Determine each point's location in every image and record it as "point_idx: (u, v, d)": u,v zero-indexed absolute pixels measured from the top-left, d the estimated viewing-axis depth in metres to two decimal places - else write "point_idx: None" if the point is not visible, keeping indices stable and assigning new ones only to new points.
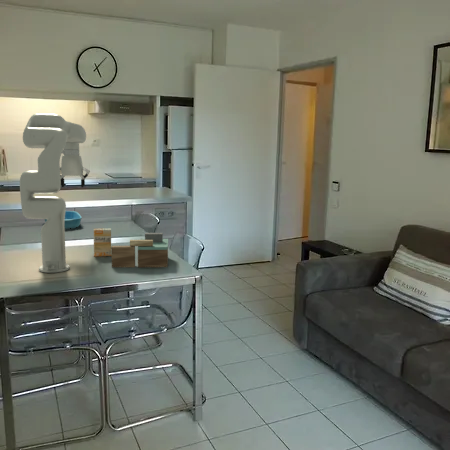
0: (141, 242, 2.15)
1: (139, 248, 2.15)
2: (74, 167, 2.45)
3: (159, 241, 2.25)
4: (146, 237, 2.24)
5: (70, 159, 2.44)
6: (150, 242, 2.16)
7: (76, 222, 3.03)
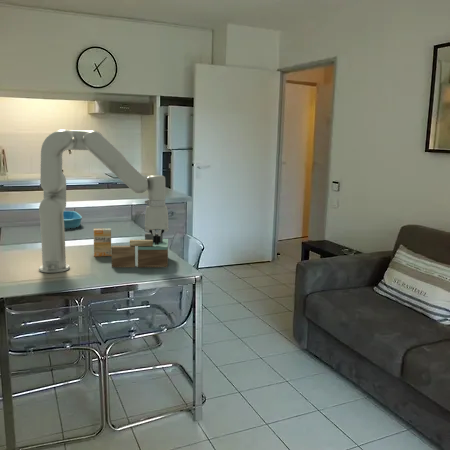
0: (141, 242, 2.15)
1: (139, 248, 2.15)
2: (160, 220, 2.13)
3: None
4: (146, 237, 2.24)
5: (156, 211, 2.12)
6: (150, 242, 2.16)
7: (77, 222, 3.03)
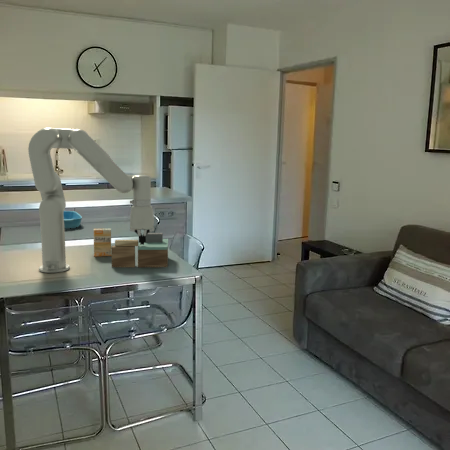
0: (127, 242, 2.15)
1: (139, 248, 2.15)
2: (145, 220, 2.12)
3: (159, 241, 2.25)
4: (146, 237, 2.24)
5: (141, 211, 2.11)
6: (135, 242, 2.15)
7: (77, 222, 3.03)
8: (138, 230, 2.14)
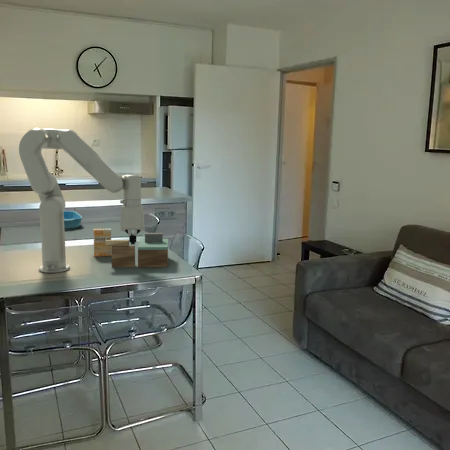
0: (117, 242, 2.14)
1: (139, 248, 2.15)
2: (135, 220, 2.12)
3: (159, 241, 2.25)
4: (146, 237, 2.24)
5: (131, 210, 2.11)
6: (126, 242, 2.15)
7: (77, 222, 3.03)
8: (128, 230, 2.14)
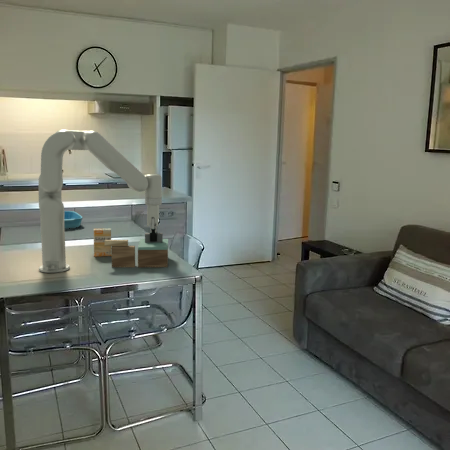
0: (116, 242, 2.14)
1: (139, 248, 2.15)
2: None
3: (159, 241, 2.25)
4: (146, 237, 2.24)
5: None
6: (125, 242, 2.15)
7: (78, 222, 3.04)
8: (150, 225, 2.27)
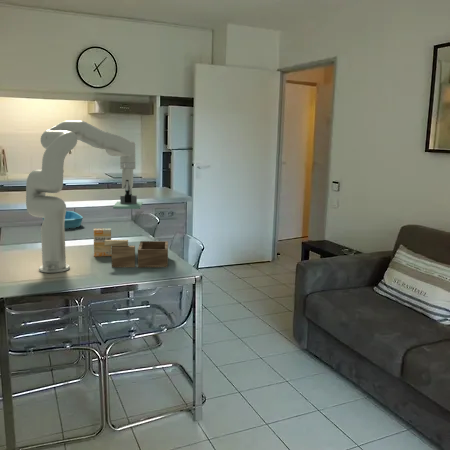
0: (116, 242, 2.14)
1: (114, 207, 2.39)
2: None
3: (133, 202, 2.49)
4: (121, 199, 2.48)
5: None
6: (125, 242, 2.15)
7: (78, 222, 3.04)
8: None
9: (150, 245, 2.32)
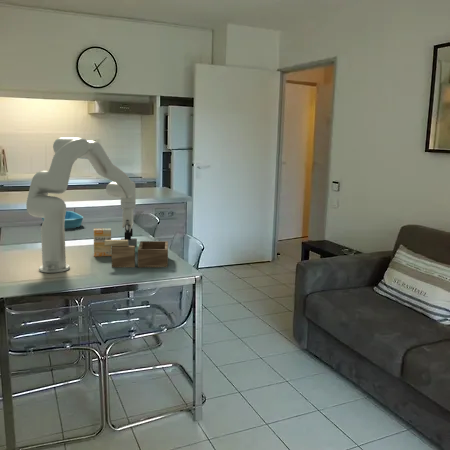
0: (116, 242, 2.14)
1: None
2: None
3: None
4: None
5: None
6: (125, 242, 2.15)
7: (79, 221, 3.05)
8: None
9: (150, 245, 2.32)
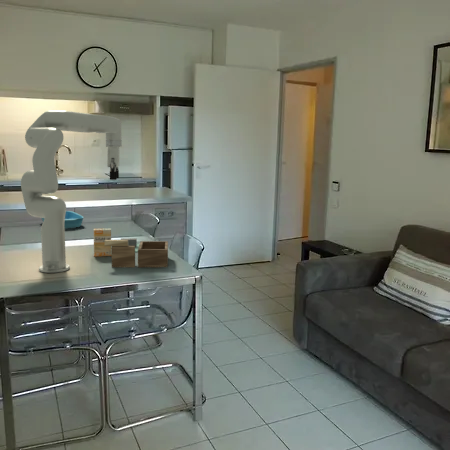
0: (116, 242, 2.14)
1: None
2: None
3: None
4: None
5: None
6: (125, 242, 2.15)
7: (79, 221, 3.05)
8: None
9: (150, 245, 2.32)
